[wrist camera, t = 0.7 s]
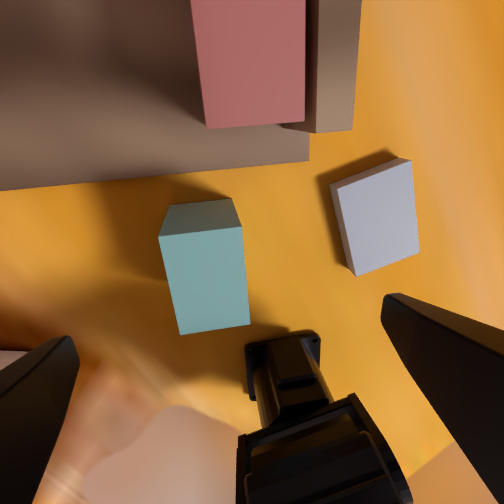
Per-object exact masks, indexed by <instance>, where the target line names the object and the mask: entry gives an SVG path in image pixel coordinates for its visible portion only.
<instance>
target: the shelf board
mask: <svg viewBox="0 0 504 504" xmlns="http://www.w3.org/2000/svg"><path fill="white" fill-rule="evenodd" d="M361 3H362V0H306V2H305V121H302V122H290V123H277V124H265V125H253V126H241V127H229V128H217V129H206V126H205V119H204V111H203V103H202V95H201V88H200V80H199V72H198V64H197V56H196V48H195V40H194V33H193V25H192V17H191V9H190V1H189V0H0V191H7V190H17V189H27V188H37V187H47V186H58V185H68V184H78V183H88V182H99V181H109V180H119V179H129V178H139V177H150V176H160V175H170V174H180V173H191V172H201V171H211V170H221V169H231V168H242V167H252V166H262V165H272V164H283V163H293V162H303V161H309V132H311V133H326V132H337V131H349V130H352V126H353V112H354V99H355V85H356V71H357V57H358V44H359V30H360V16H361Z"/></svg>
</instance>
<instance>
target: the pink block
mask: <svg viewBox="0 0 504 504" xmlns="http://www.w3.org/2000/svg"><path fill="white" fill-rule="evenodd" d="M189 1H190V9H191V17H192V25H193V33H194V40H195V48H196V56H197V64H198V72H199V80H200V88H201V95H202V103H203V111H204V119H205V126H206V129H217V128H229V127H241V126H253V125H265V124H277V123H290V122H302V121H305V2H306V0H189Z"/></svg>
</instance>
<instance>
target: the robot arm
mask: <svg viewBox="0 0 504 504" xmlns="http://www.w3.org/2000/svg"><path fill="white" fill-rule="evenodd" d="M381 323H382V326H383V327H384V329H385V331H386V333H387V335H388V337H389V338H390V340H391V342H392V344H393V346H394V347H395V349H396V351H397V353H398V355H399V357H400V358H401V360H402V362H403V364H404V365H405V367H406V369H407V370H408V372H409V373H410V375H411V376H412V378H413V379H414V381H415V382H416V384H417V385H418V387H419V388H420V390H421V391H422V392H423V394H424V395H425V397H426V398H427V400H428V401H429V403H430V404H431V406H432V407H433V409H434V410H435V411H436V413H437V414H438V416H439V417H440V419H441V420H442V422H443V423H444V425H445V426H446V428H447V429H448V430H449V432H450V433H451V435H452V436H453V438H454V439H455V441H456V442H457V443H458V445H459V447H460V448H461V449H462V451H463V452H464V454H465V455H466V457H467V458H468V459H469V461H470V463H471V464H472V465H473V467H474V468H475V470H476V471H477V473H478V474H479V476H480V477H481V479H482V480H483V482H484V483H485V484H486V486H487V487H488V489H489V490H490V492H491V493H492V495H493V496H494V498H495V499H496V501H497V502H498V503H499V504H504V330H501V329H498V328H495V327H493V326H490V325H487V324H484V323H481V322H479V321H476V320H473V319H470V318H468V317H465V316H462V315H459V314H457V313H454V312H451V311H448V310H445V309H443V308H440V307H437V306H434V305H432V304H429V303H426V302H423V301H420V300H418V299H415V298H412V297H409V296H407V295H404V294H401V293H392V294H386V295H385V296H384V298H383V304H382V310H381ZM315 338H316V339H315ZM313 339H314V340H313ZM320 343H321V339H320V337H319V335H318V334H317V333H310V334H304V335H298V336H292V337H286V338H280V339H274V340H268V341H261V342H255V343H249V344H247V345H246V346H245V347H244V353H245V362H246V371H247V381H248V390H249V398H250V400H251V401H257V405H258V410H259V415H260V421H261V426H262V429H260V430H258V431H255V432H252V433H250V434H247V435H246V434H243V435H240V436H238V448H237V458H236V461H237V462H236V504H413V498H412V495H411V492H410V489H409V486H408V484H407V481H406V479H405V477H404V475H403V472H402V470H401V468H400V466H399V464H398V462H397V460H396V458H395V456H394V454H393V452H392V450H391V448H390V447H389V445H388V443H387V441H386V440H385V438H384V437H383V435H382V433H381V432H380V430H379V429H378V427H377V426H376V424H375V423H374V421H373V420H372V418H371V417H370V415H369V414H368V412H367V411H366V409H365V408H364V406H363V405H362V403H361V402H360V400H359V398H358V397H357V395H356V394H355V393H352V394H349V395H347V396H348V397H345V398H343V399H340V400H337V401H334V399H333V397H332V395H331V393H330V391H329V388H328V386H327V384H326V382H325V380H324V378H323V376H322V373H321V371H320V369H319V367H320ZM249 349H252V350H249ZM79 367H80V358H79V355H78V353H77V350H76V347H75V345H74V342H73V340H72V338H71V337H70V336H68V335H63V336H55V337H51V338H50V339H48V340H47V341H45V342H43V343H42V344H40V345H39V346H37V347H36V348H34V349H33V350H31V351H29V352H28V353H26V354H25V355H23V356H22V357H20V358H19V359H17V360H16V361H14V362H12V363H11V364H9V365H8V366H6V367H5V368H3V369H2V370H0V504H32V502H33V500H34V497H35V495H36V492H37V489H38V487H39V484H40V482H41V479H42V477H43V474H44V472H45V469H46V467H47V464H48V462H49V459H50V457H51V454H52V452H53V449H54V447H55V444H56V442H57V439H58V436H59V434H60V431H61V429H62V426H63V423H64V420H65V417H66V414H67V410H68V407H69V403H70V399H71V396H72V392H73V389H74V385H75V382H76V378H77V374H78V371H79Z"/></svg>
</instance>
